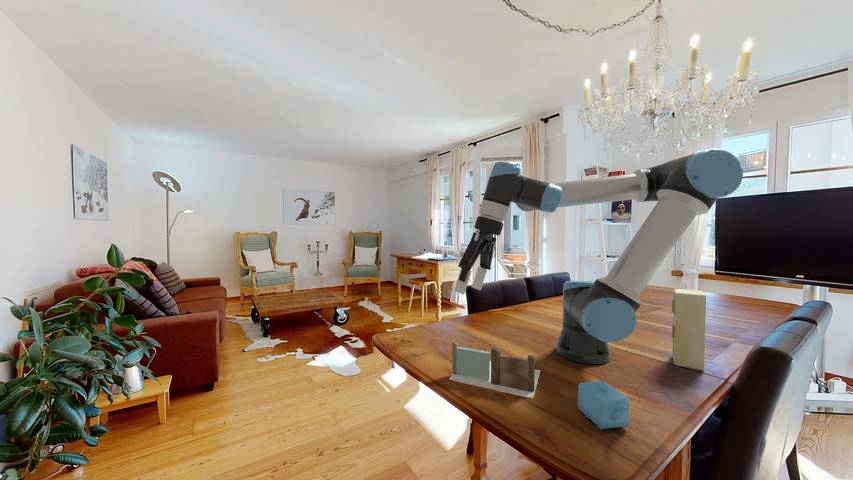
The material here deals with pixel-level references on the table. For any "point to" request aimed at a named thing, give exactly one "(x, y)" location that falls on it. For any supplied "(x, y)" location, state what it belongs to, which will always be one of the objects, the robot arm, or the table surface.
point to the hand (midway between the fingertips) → (468, 290)
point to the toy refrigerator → (689, 328)
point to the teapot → (603, 404)
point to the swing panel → (470, 362)
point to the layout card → (496, 387)
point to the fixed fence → (512, 370)
